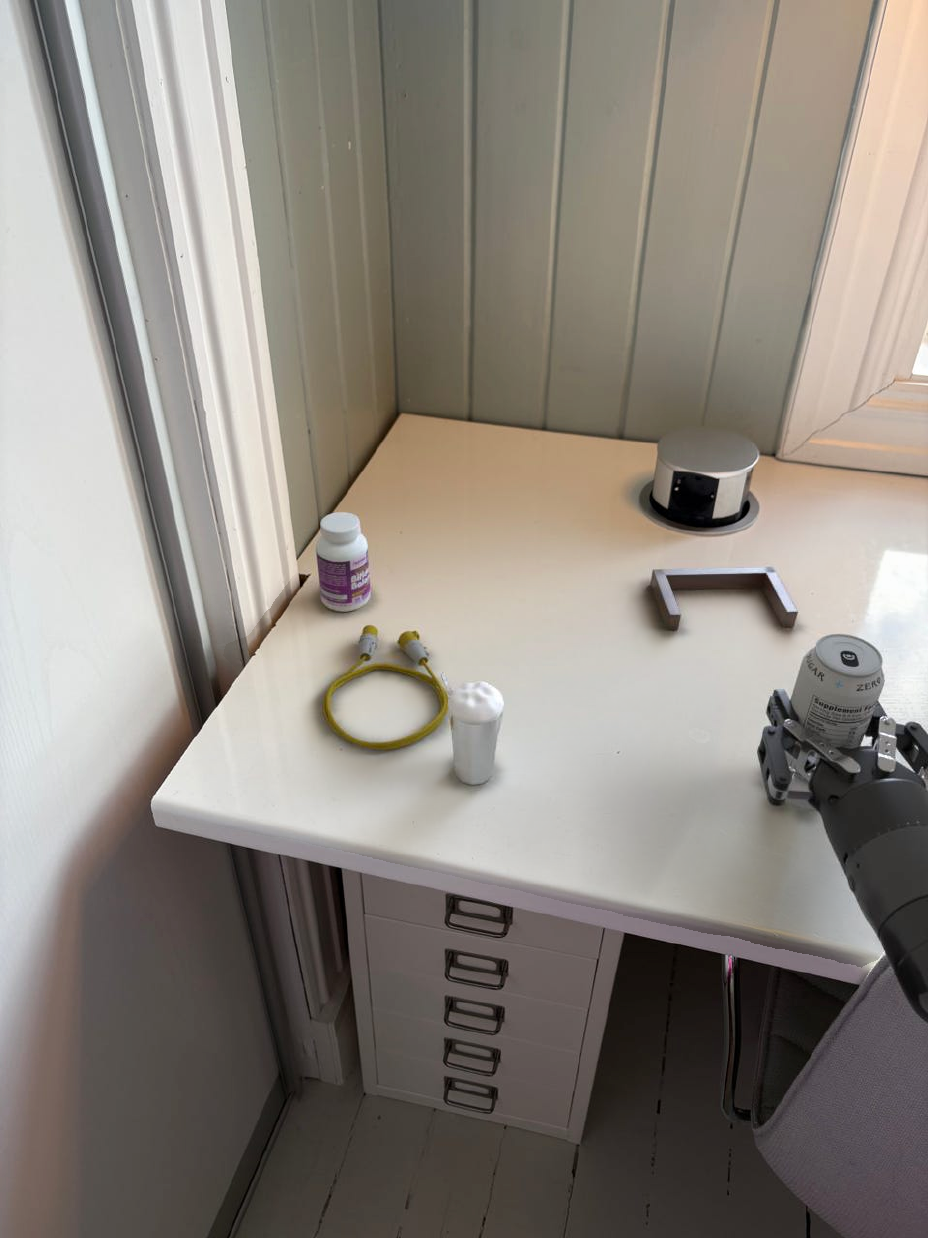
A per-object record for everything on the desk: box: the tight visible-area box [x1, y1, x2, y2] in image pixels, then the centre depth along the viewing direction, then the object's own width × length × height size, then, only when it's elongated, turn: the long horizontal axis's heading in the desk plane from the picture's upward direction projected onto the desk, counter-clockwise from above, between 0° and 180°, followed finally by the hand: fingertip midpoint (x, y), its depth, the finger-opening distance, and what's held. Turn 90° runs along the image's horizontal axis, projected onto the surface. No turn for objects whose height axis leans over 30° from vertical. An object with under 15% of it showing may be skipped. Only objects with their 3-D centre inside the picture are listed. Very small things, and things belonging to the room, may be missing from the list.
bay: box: [649, 566, 799, 631], centre depth 99 cm, size 8×13×2 cm, turn 93°
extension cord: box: [322, 624, 449, 751], centre depth 87 cm, size 12×16×2 cm
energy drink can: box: [784, 633, 886, 813], centre depth 74 cm, size 6×6×15 cm
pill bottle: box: [315, 511, 371, 613], centre depth 97 cm, size 5×5×10 cm
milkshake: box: [440, 672, 505, 786], centre depth 77 cm, size 4×5×10 cm
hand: (816, 696), depth 75 cm, fingers closed on energy drink can, 6 cm apart
